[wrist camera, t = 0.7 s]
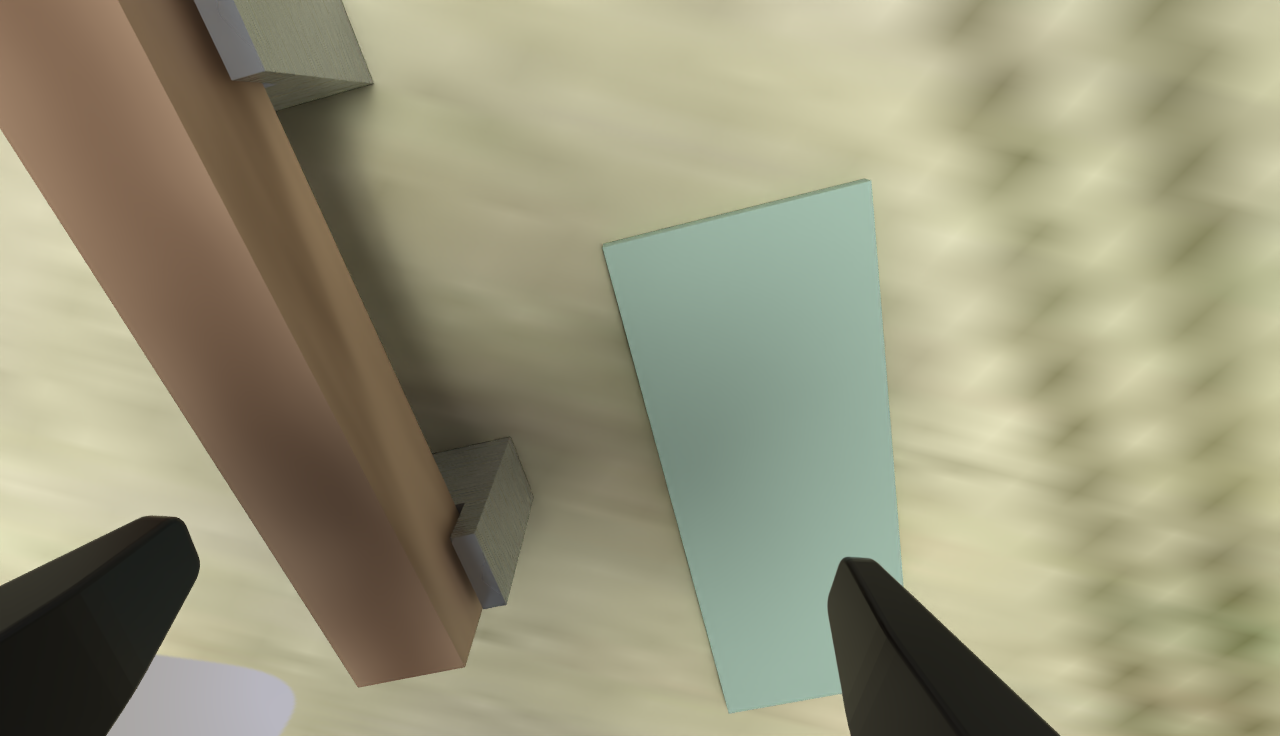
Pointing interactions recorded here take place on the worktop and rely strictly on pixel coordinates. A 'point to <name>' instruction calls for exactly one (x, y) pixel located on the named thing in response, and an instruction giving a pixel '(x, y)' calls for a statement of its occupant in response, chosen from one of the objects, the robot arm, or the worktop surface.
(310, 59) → the post
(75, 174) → the rail
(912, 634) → the robot arm
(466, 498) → the post
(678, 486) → the mat
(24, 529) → the worktop surface
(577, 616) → the worktop surface
